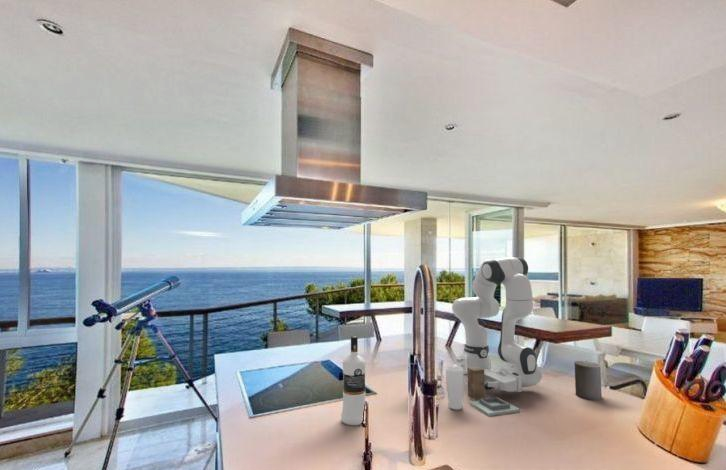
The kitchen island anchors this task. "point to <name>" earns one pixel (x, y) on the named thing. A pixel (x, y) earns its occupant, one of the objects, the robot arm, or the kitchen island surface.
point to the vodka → (353, 386)
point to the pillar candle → (588, 380)
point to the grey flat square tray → (494, 406)
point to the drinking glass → (455, 387)
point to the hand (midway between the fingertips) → (480, 381)
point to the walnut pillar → (476, 383)
